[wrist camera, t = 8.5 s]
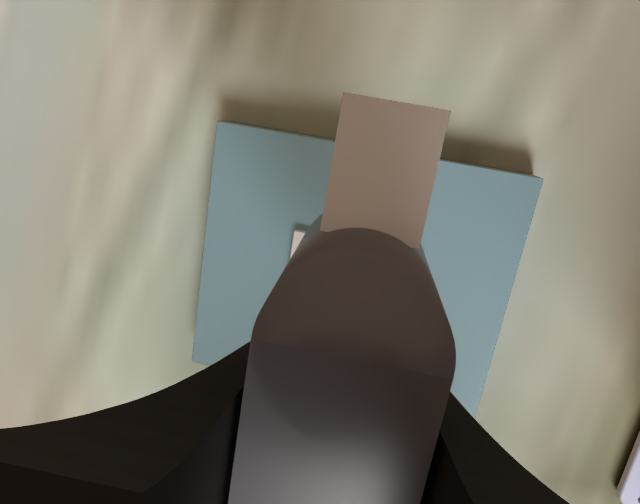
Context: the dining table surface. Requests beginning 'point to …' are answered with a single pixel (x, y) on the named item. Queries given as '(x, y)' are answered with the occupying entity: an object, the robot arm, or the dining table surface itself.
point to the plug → (353, 330)
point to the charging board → (307, 205)
